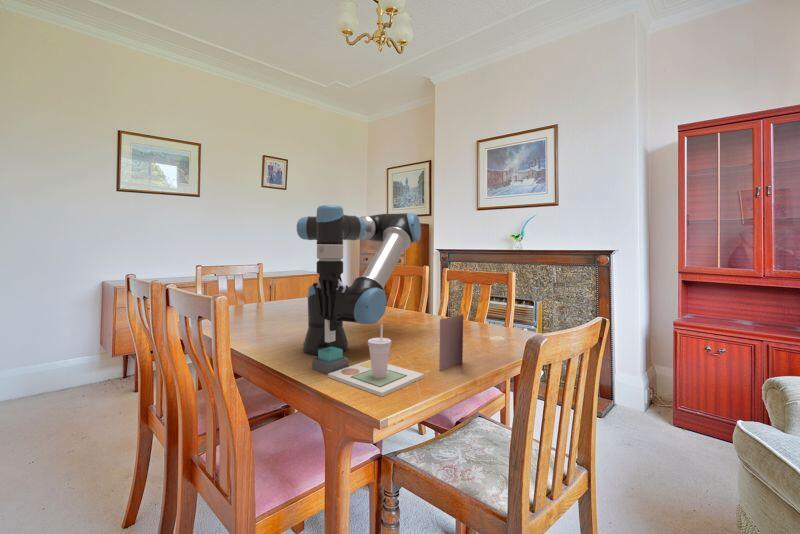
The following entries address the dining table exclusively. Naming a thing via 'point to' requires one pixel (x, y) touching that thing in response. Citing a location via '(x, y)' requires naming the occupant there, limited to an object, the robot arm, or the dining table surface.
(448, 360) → the greeting card
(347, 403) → the dining table surface
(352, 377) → the picture board
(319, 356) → the button
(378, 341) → the smoothie
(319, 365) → the button housing
